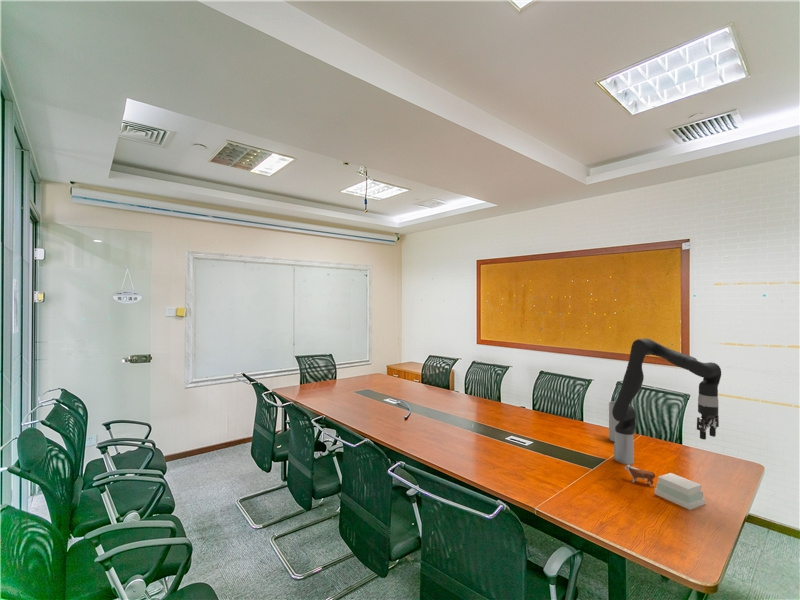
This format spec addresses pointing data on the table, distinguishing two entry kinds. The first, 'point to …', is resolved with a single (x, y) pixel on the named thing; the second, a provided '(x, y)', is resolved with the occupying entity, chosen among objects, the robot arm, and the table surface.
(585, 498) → the table surface
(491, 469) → the table surface
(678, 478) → the white stepped block
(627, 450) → the robot arm
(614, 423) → the cylinder vase
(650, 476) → the bull figurine
